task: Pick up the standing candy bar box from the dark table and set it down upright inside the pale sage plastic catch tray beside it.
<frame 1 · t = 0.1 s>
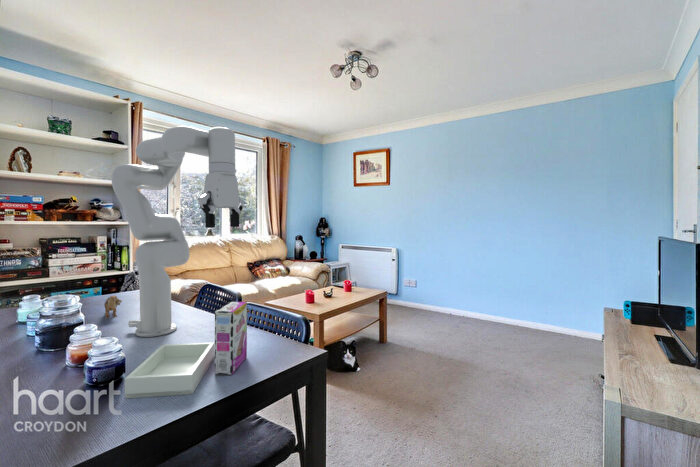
hand: (223, 227, 102), 37 cm above the table, tool pointing down, fingers open, 9 cm apart
candy bar box: (232, 366, 91), on the table
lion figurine: (112, 315, 137), on the table
catch tray: (175, 375, 85), on the table
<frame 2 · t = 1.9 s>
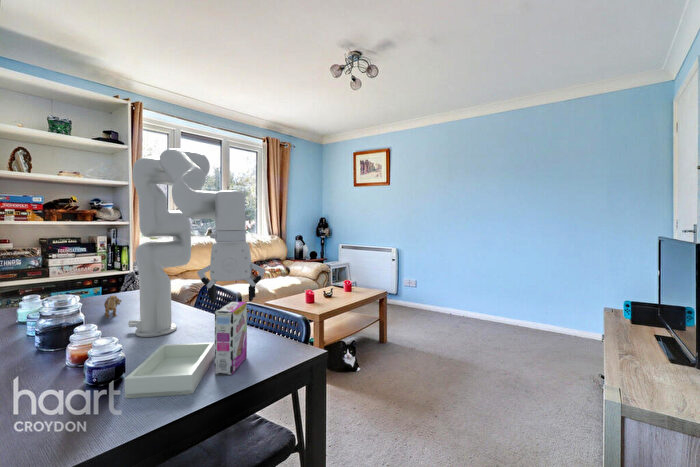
hand: (232, 301, 90), 18 cm above the table, tool pointing down, fingers open, 9 cm apart
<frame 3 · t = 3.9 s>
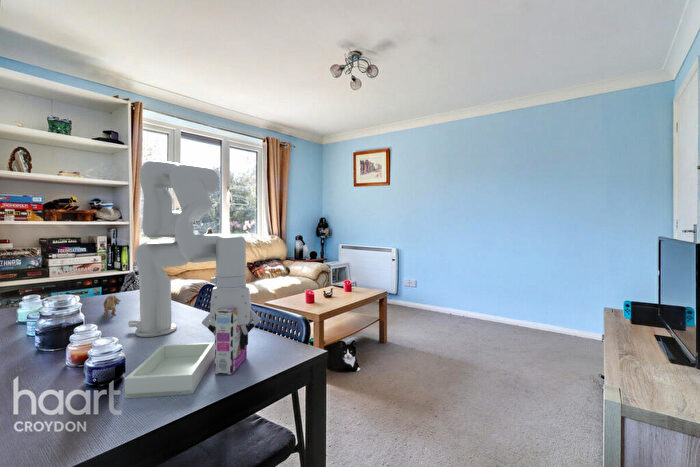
hand: (232, 347, 91), 5 cm above the table, tool pointing down, fingers closed on candy bar box, 5 cm apart
candy bar box: (232, 366, 91), on the table, touching gripper
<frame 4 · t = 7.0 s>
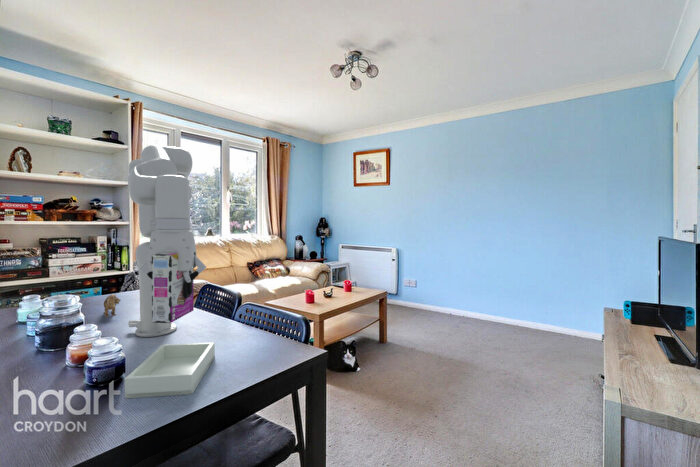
hand: (174, 296, 84), 20 cm above the table, tool pointing down, fingers closed on candy bar box, 5 cm apart
candy bar box: (174, 317, 84), point 15 cm above the table, touching gripper
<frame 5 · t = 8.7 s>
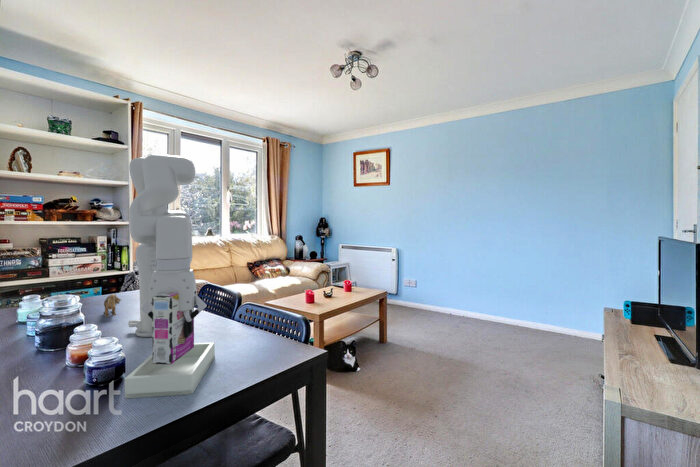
hand: (175, 335, 84), 10 cm above the table, tool pointing down, fingers closed on candy bar box, 5 cm apart
candy bar box: (175, 356, 85), point 5 cm above the table, touching gripper
when the fingers open (7 cm above the table, at t = 10.2 s): candy bar box drops 1 cm, resting on catch tray.
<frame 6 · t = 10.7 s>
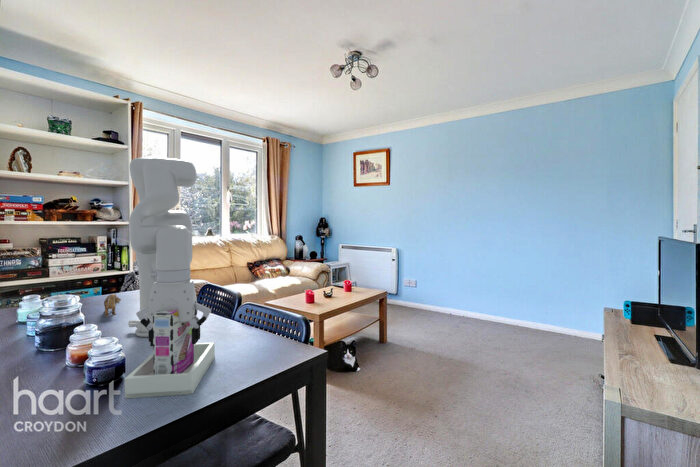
hand: (175, 343, 85), 8 cm above the table, tool pointing down, fingers open, 9 cm apart
candy bar box: (175, 372, 85), point 1 cm above the table, touching catch tray
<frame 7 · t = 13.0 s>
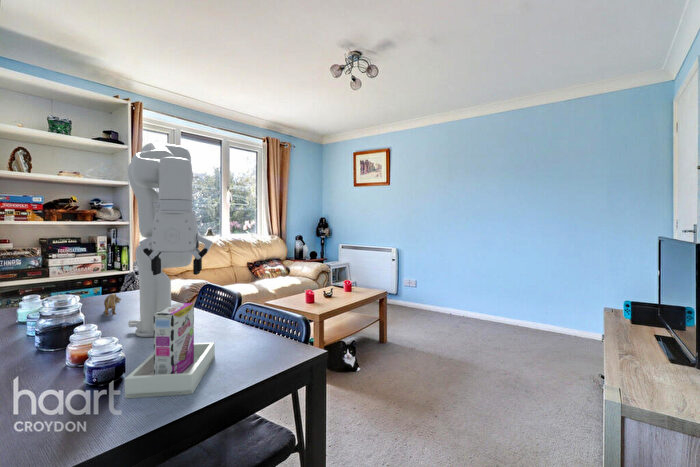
hand: (177, 274, 86), 26 cm above the table, tool pointing down, fingers open, 9 cm apart
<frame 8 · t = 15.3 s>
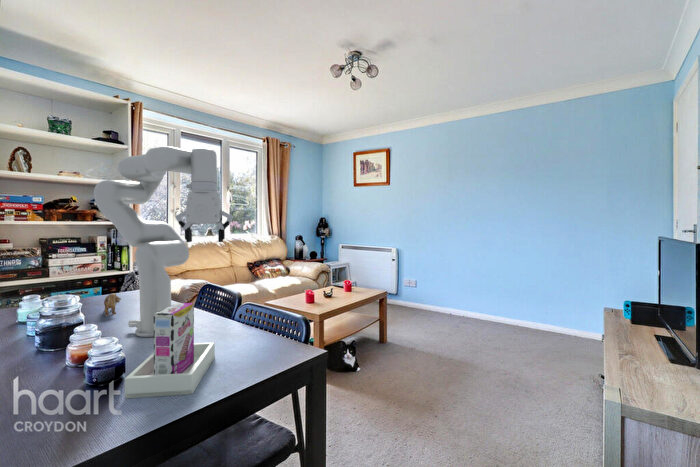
hand: (205, 241, 107), 32 cm above the table, tool pointing down, fingers open, 9 cm apart
at the end: candy bar box inside the target area on the catch tray (0.1 cm from its centre), point 0.8 cm above the catch tray's base; candy bar box tilted 0°; the gripper is holding nothing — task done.
